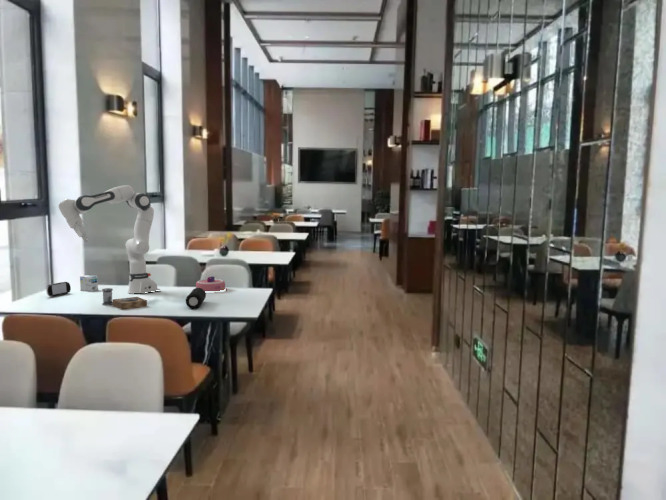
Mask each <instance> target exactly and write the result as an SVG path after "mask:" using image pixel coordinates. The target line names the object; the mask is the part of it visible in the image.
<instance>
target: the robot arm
mask: <svg viewBox="0 0 666 500" xmlns="http://www.w3.org/2000/svg"><path fill="white" fill-rule="evenodd" d="M124 202H126V204H127V205H128V207H130V208H133V209H137V214H136V215H137V216H136V218H135V223H134V226H133V233H134V234H133V237H132V238H129V239H127V241H126V242H125V249H126V251H127V258H128V264H129V274H128V278H129V285H128V291H127V293H128V294H134V293H145V292H151V291H156V290H161V288H158V284H157V282H156V281H155V280H154V279H152V278H150V277H151V276H152V274H151V273H150V272H149V273H148V272H147V263H146V260H145V256H144V255H145V254H147V253H148V252H149V250H150V244H149V241H150V232H151V228H152V224H153V220H154V213H155V209H154V208H153V207H152V205H151V199H150V197H149V195H148V194H146V193H145V192H144V193H141V192H135V190H134V188H133V187H132V186H131V185H129V184H125V185H119V186H115V187H112V188H110V189H108V190H105V191H104V192H102V193H98V194H93V195H86V194H83V195H80V196H78V197H77V199H69V198H65V199H64V200H62V201H60V203H59V204H58V208H59V209H58V210H59V211H60V213H61V215H62V216H63V217H64V218H65V221H66V223H67V224H68V226H69V227H70V229H73V231H74V233H76V234H77V236H78V237H79V238H81V239H82V240H83V241H84V242H85V243H87V242H88V241H89V240H90V239H89V237H88V234H87V232H88V231H87V230H86V228H85V226H84V224H83V223H84V220H83V219H82V216H81V215H84V214H86V213H87V212H89V210H91V209H92V208H93V207H94V206H96V205H100V204H102V203H103V204H104V203H108V204H110V205H116V204H120V203H124ZM134 295H135V294H134Z"/></svg>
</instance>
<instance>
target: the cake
mask: <svg viewBox="0 0 666 500" xmlns="http://www.w3.org/2000/svg"><path fill="white" fill-rule="evenodd" d="M195 288H201V289H203V290H204V291H220V290H224V289H225V288H226V281H225V280H223V279H220V278H215V276H214V275H213V276H208V277H207V278H205V279H204V278H203V279H199V280H198V281H196V282H195Z"/></svg>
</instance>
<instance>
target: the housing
mask: <svg viewBox="0 0 666 500" xmlns="http://www.w3.org/2000/svg"><path fill="white" fill-rule="evenodd" d="M101 291H102V304H101V305H102V306H113V291H114V290H113V288H111V287H109V288H108V287H107V288H102V289H101Z"/></svg>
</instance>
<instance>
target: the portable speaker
mask: <svg viewBox="0 0 666 500" xmlns="http://www.w3.org/2000/svg"><path fill="white" fill-rule="evenodd" d="M206 296H207V294H206V293H205V291H204V290H203V289H201V288H196V287H195V288H193V289H192V290H191V291H190V293H189V294H188V295H187V296H186V298H185V305H186V306H187V307H188V308H190V309H191V308H196V309H198V308H200V306H201V305H202V303H203V302H204V301H205V300H206ZM197 307H198V308H197Z"/></svg>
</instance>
